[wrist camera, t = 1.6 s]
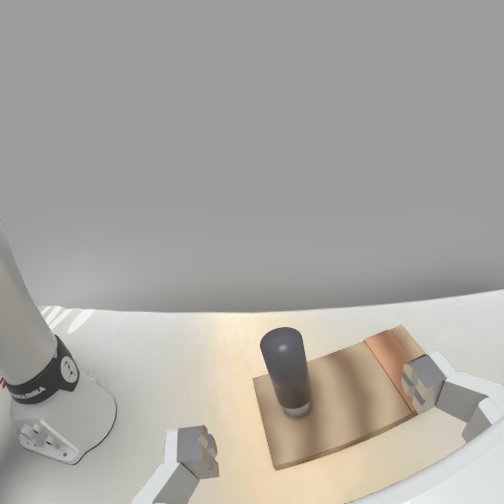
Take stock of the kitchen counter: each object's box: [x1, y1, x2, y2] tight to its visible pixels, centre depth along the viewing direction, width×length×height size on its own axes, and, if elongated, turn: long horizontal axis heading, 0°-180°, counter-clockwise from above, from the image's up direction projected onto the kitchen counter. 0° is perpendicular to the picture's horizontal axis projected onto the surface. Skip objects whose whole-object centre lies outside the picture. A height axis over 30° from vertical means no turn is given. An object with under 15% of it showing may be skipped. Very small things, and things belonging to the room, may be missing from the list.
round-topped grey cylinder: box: [260, 327, 312, 418], centre depth 30 cm, size 4×4×12 cm
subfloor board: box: [253, 325, 426, 470], centre depth 33 cm, size 23×14×2 cm, turn 100°
